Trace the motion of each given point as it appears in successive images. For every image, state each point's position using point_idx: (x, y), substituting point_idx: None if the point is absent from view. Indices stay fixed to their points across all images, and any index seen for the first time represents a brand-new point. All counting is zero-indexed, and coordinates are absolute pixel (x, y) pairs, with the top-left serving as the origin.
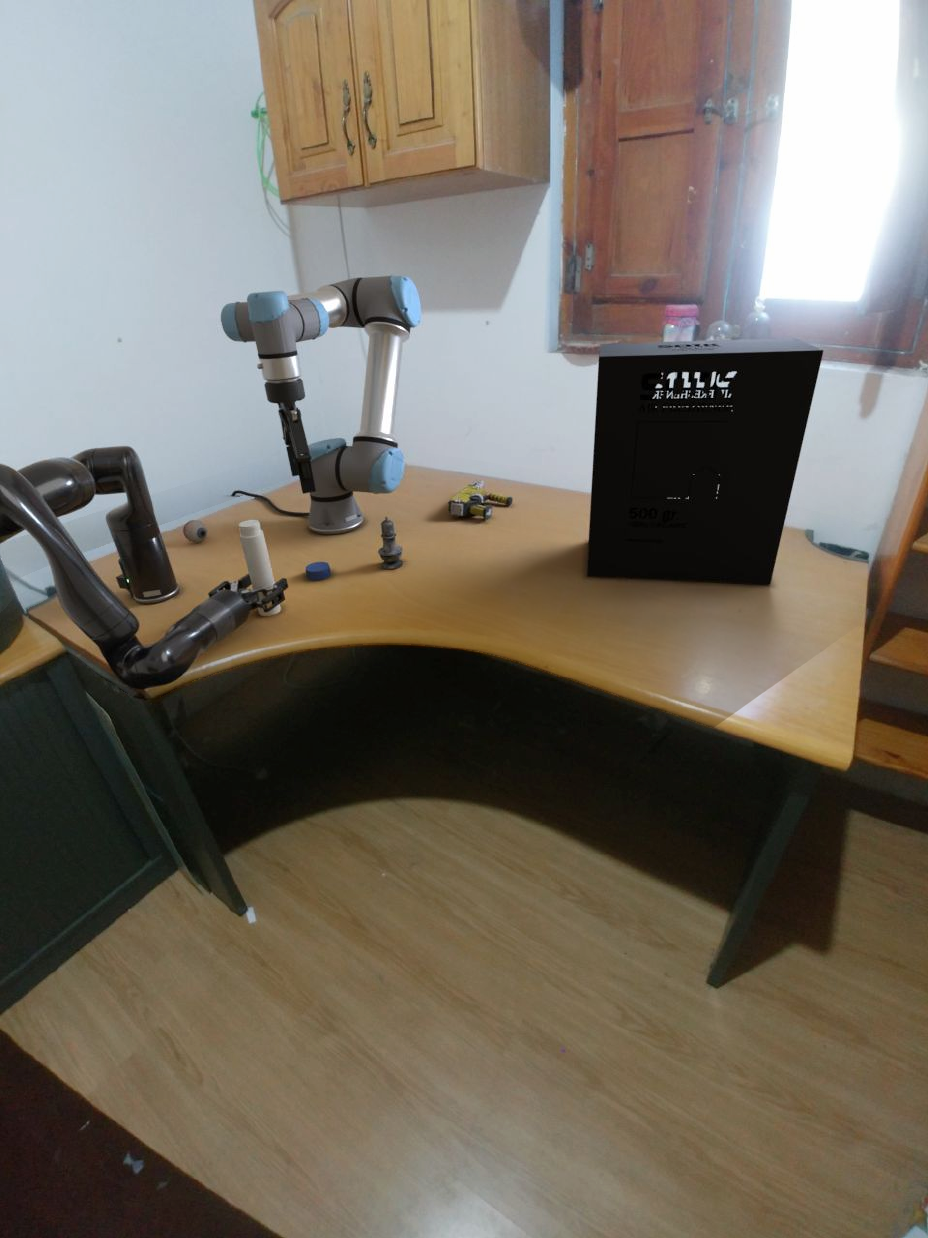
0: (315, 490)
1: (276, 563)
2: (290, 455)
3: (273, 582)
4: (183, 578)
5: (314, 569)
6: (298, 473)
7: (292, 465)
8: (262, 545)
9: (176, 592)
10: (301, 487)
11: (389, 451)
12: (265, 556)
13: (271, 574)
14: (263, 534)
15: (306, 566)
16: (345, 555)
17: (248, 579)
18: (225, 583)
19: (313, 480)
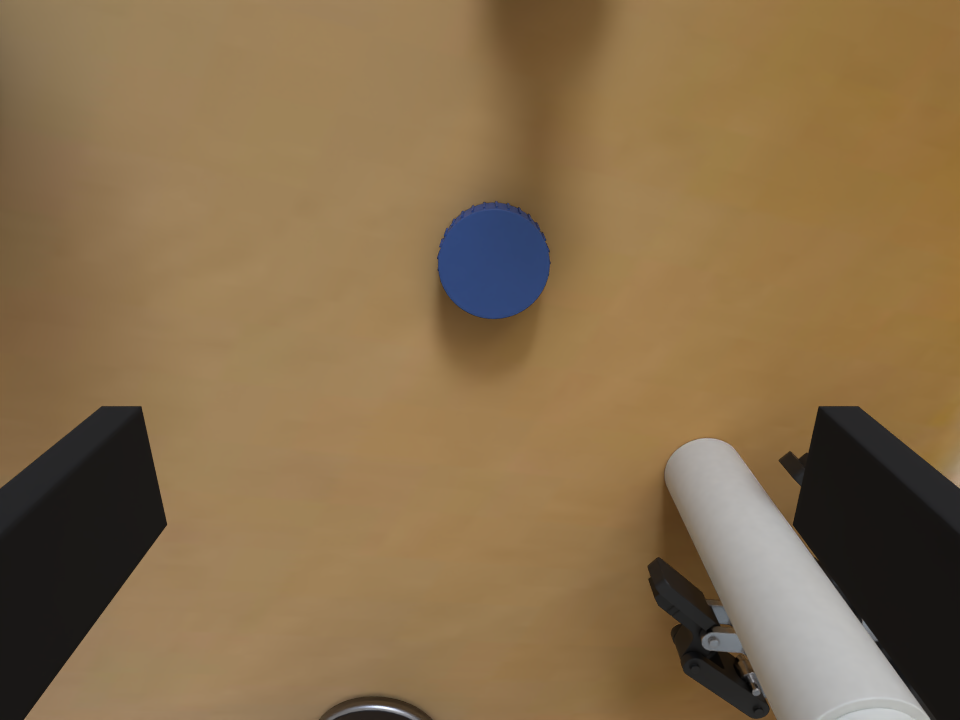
0: (864, 414)
1: (275, 398)
2: (9, 704)
3: (775, 510)
4: (278, 682)
5: (520, 284)
6: (142, 476)
7: (101, 589)
8: (885, 658)
9: (405, 706)
10: (829, 561)
11: None
12: (848, 608)
13: (791, 534)
14: (881, 683)
15: (466, 311)
16: (314, 81)
17: (680, 587)
18: (708, 669)
19: (939, 477)
